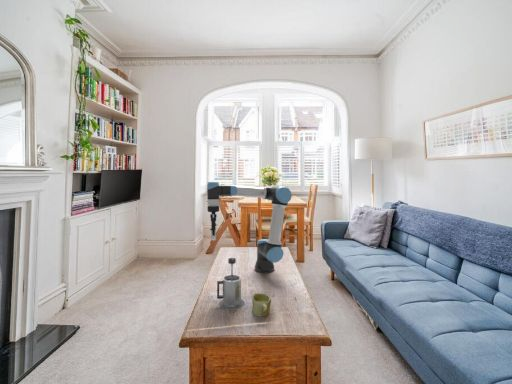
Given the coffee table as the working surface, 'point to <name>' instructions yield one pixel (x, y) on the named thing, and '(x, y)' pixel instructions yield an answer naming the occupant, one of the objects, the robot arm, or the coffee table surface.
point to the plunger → (231, 261)
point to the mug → (261, 304)
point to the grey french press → (230, 291)
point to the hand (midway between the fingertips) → (213, 238)
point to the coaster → (231, 308)
